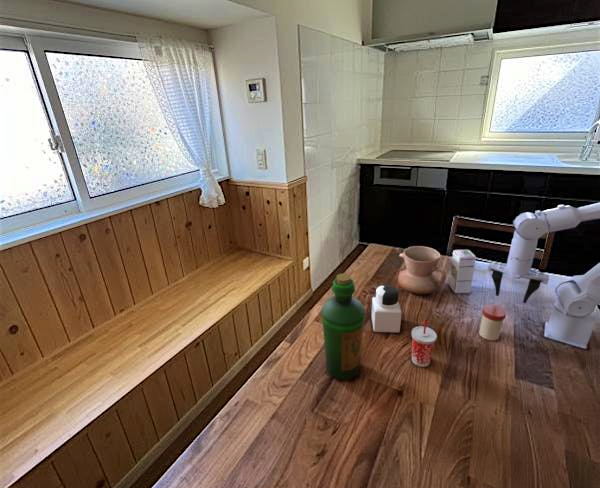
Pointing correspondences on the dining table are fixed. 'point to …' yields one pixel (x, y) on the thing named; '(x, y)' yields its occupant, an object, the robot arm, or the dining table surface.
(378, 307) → the container
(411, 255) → the ceramic jug
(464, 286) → the syrup box
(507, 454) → the dining table surface
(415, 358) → the beverage cup
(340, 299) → the bottle
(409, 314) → the dining table surface
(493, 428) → the dining table surface
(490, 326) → the jam jar
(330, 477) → the dining table surface
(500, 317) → the jar lid
